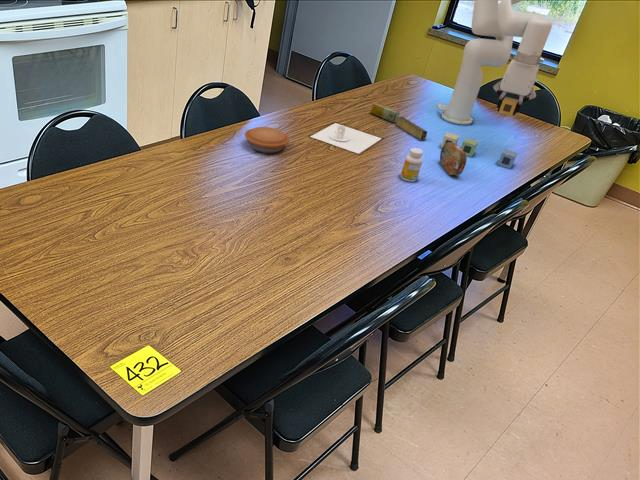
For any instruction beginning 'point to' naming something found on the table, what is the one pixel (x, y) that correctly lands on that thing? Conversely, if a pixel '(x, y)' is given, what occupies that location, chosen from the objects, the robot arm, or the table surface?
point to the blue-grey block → (507, 158)
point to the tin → (453, 158)
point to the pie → (266, 139)
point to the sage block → (469, 146)
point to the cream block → (450, 139)
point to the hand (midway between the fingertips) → (506, 111)
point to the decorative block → (411, 128)
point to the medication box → (385, 112)
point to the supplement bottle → (412, 165)
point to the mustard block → (508, 106)
